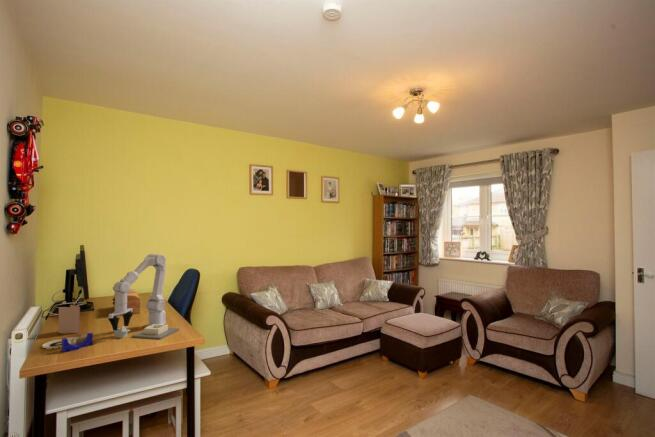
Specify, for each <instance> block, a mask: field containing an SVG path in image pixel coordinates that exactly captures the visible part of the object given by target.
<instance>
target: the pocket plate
mask: <svg viewBox="0 0 655 437" xmlns="http://www.w3.org/2000/svg"><path fill="white" fill-rule="evenodd" d="M178 331H180V328H179V327H178V328H177V327H169V325H168V324H164V325H162V324H153V325H151V326H148V327H144V328H143V330H142V331H139V332H136V333H134V334H132V335H131V338H135V339H137V338H138V339H150V340H151V339H152V340H162V339H164V338H167V337H169V336H170V335H173V334H174V333H176V332H178Z"/></svg>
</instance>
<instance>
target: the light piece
mask: <svg viewBox="0 0 655 437" xmlns="http://www.w3.org/2000/svg"><path fill="white" fill-rule="evenodd" d="M87 333H91V331H89V332H82V333H76V335H75V336H72V337H71V336H70V337H66V338H67V339H68V343H69V344H71V345H76V344H79V343H81V342H83V341H84V340H85V339H86V337H87ZM62 339H63V338H60V339H53V340H50V341H47V342H45V343H43V344H41V346H42V347H41V348H42V349H43V348H46V349H45V350H53V349H52V348H54V349H59V348H58V347H60V348H62Z"/></svg>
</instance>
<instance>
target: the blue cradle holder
mask: <svg viewBox="0 0 655 437" xmlns="http://www.w3.org/2000/svg"><path fill="white" fill-rule="evenodd" d="M86 333H87V337H86V339H85V340H84V341H83V342H81V343H78V344H74V345H71V344H69V343H68V339H67V338H68V337H64V338H61V339H62V347H61V351H62V352H63V353H64V354H66V353H69V352H73V351H74V352H75V351H77V350H80V349H82V348H86V347H89V346H93V339H94V336H93V334H94V333H93V332H90V333H89V332H86ZM65 352H66V353H65Z"/></svg>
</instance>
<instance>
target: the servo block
mask: <svg viewBox="0 0 655 437" xmlns="http://www.w3.org/2000/svg"><path fill="white" fill-rule="evenodd" d="M130 331H131V330H130V329H127V326H123V325H122V326H118V329H117V330H113V329H112V330H111V332H112V333H114V338H119V339H120V338H121V339H123V338H126V337H128V332H130Z"/></svg>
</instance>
